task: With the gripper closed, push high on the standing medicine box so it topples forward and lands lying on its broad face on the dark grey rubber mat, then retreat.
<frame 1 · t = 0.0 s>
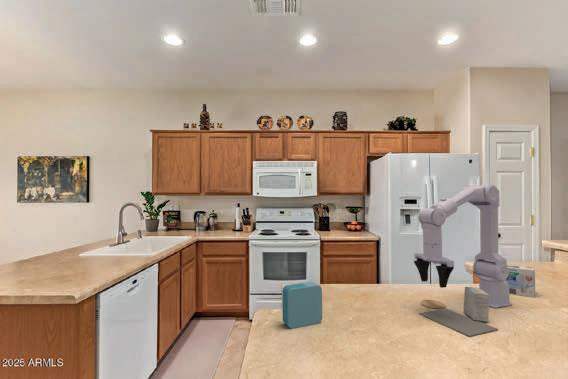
hand: (433, 284, 100), 10 cm above the countertop, fingers open, 7 cm apart
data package: (302, 324, 93), on the countertop
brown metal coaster: (432, 304, 108), on the countertop
medicine box: (475, 317, 96), on the countertop, touching mat
mat: (456, 321, 93), on the countertop
light bulb box: (518, 293, 121), on the countertop
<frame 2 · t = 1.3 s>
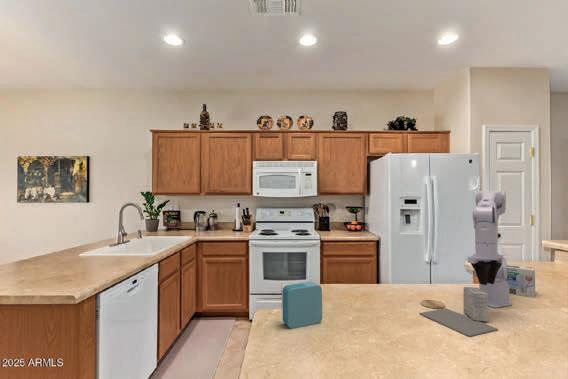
hand: (486, 283, 98), 10 cm above the countertop, fingers open, 3 cm apart
nothing on the countertop moved.
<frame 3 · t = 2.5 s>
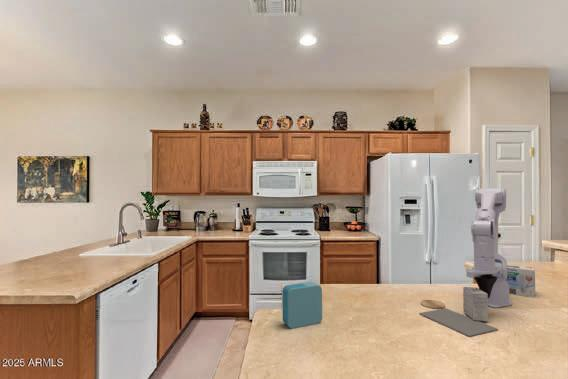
hand: (485, 297, 98), 6 cm above the countertop, fingers closed
medicine box: (475, 317, 96), on the countertop, touching gripper, mat
everything else where it was.
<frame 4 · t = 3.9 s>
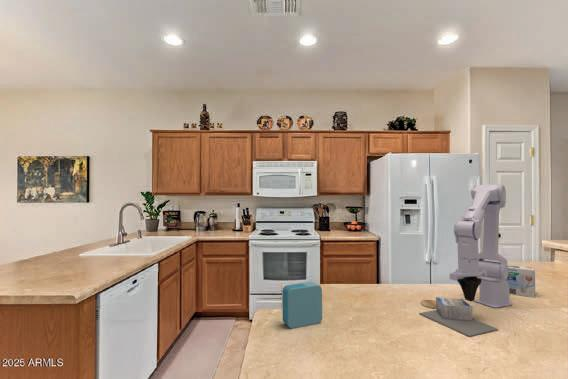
hand: (469, 300, 96), 6 cm above the countertop, fingers closed
medicine box: (468, 309, 97), point 3 cm above the countertop, touching mat
everything else where it was.
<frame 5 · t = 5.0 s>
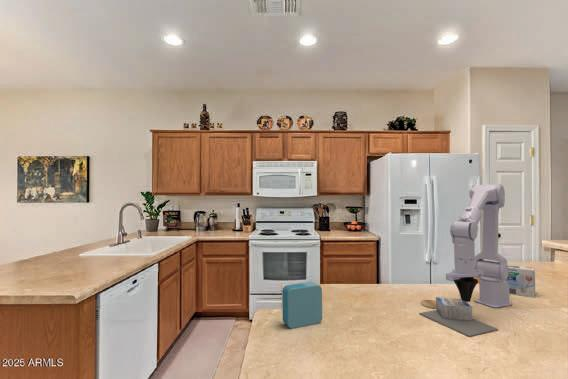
hand: (465, 300, 95), 6 cm above the countertop, fingers closed
nothing on the countertop moved.
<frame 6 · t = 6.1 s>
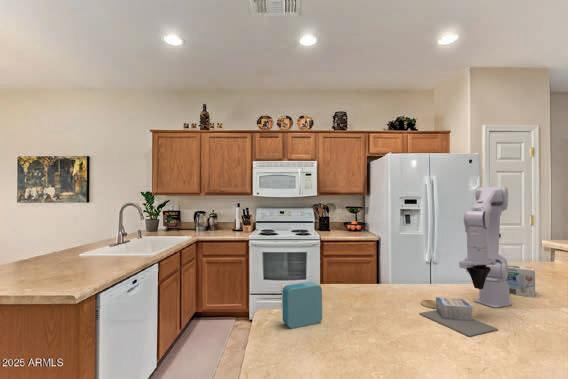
hand: (478, 288, 97), 9 cm above the countertop, fingers closed
nothing on the countertop moved.
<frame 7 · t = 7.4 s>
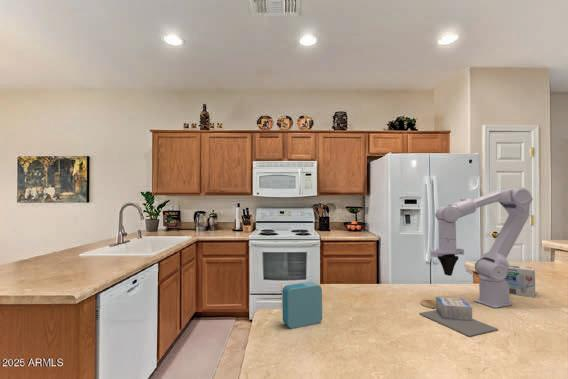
hand: (448, 275, 110), 10 cm above the countertop, fingers closed
nothing on the countertop moved.
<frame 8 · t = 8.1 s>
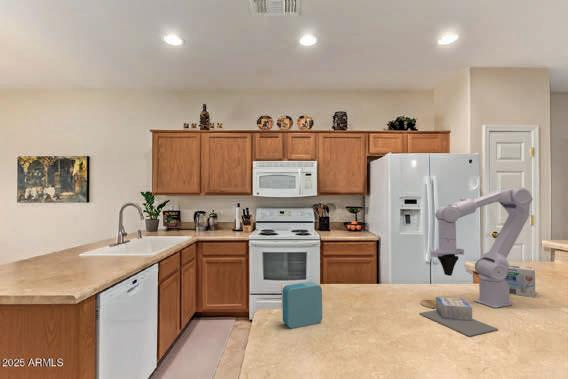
hand: (448, 275, 110), 10 cm above the countertop, fingers closed
nothing on the countertop moved.
at the end: medicine box tilted 89°; medicine box inside the target area (5.5 cm from its centre), point 2.5 cm above the countertop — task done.
